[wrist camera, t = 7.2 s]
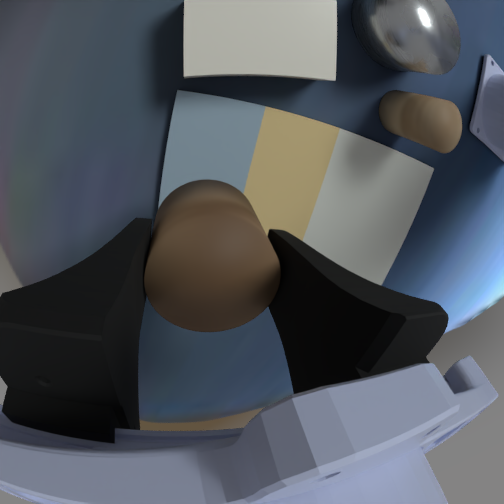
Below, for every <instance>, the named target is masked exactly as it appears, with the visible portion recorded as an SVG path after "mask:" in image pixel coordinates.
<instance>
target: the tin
mask: <svg viewBox="0 0 504 504" xmlns="http://www.w3.org/2000/svg"><path fill="white" fill-rule="evenodd" d="M351 20H352V25H353V29H354V32H355V35H356V37H357V39H358V41H359V43H360V44H361V46H362V48H363V49H364V50H365V51H366V53H367V54H368V55H369V56H370V57H371V58H372V59H373V60H374V61H376V62H377V63H379V64H380V65H382V66H384V67H386V68H388V69H391V70H397V71H409V72H419V73H427V74H435V75H441V74H445V73H447V72H449V71H450V70H451V69H452V68H453V67H454V66H455V64H456V62H457V60H458V57H459V54H460V33H459V29H458V25H457V22H456V19H455V17H454V15H453V13H452V11H451V9H450V7H449V6H448V4H447V3H446V1H445V0H354V2H353V5H352V11H351Z"/></svg>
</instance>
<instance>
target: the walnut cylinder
mask: <svg viewBox="0 0 504 504" xmlns="http://www.w3.org/2000/svg"><path fill="white" fill-rule="evenodd" d="M280 278H281V269H280V263H279V260H278V257H277V255H276V253H275V251H274V249H273V247H272V245H271V243H270V241H269V239H268V237H267V235H266V233H265V231H264V229H263V227H262V225H261V223H260V221H259V219H258V217H257V215H256V213H255V211H254V209H253V207H252V205H251V204H250V202H249V200H248V199H247V198H246V196H245V195H244V194H243V193H242V192H241V191H240V190H238V189H237V188H235V187H234V186H232V185H230V184H228V183H225V182H222V181H218V180H210V179H204V180H196V181H192V182H188V183H186V184H184V185H181V186H180V187H178V188H176V189H175V190H173V191H172V192H171V193H170V194H169V195H168V196H167V197H166V198H165V199H164V201H163V202H162V203H161V205H160V207H159V209H158V211H157V214H156V218H155V223H154V227H153V232H152V237H151V242H150V247H149V252H148V258H147V263H146V269H145V276H144V286H145V291H146V294H147V297H148V299H149V301H150V303H151V305H152V306H153V308H154V309H155V310H156V311H157V312H158V313H159V314H160V315H161V316H162V317H163V318H165V319H166V320H167V321H169V322H171V323H172V324H174V325H177V326H179V327H181V328H185V329H188V330H192V331H199V332H218V331H224V330H229V329H232V328H236V327H238V326H241V325H243V324H245V323H247V322H249V321H251V320H252V319H254V318H255V317H257V316H258V315H259V314H261V313H262V312H263V311H264V310H265V309H266V308H267V307H268V305H269V304H270V303H271V302H272V300H273V298H274V297H275V295H276V293H277V291H278V287H279V284H280Z"/></svg>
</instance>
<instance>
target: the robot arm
mask: <svg viewBox="0 0 504 504" xmlns="http://www.w3.org/2000/svg"><path fill="white" fill-rule="evenodd" d="M470 131H471V133H473V134H474V135H475V136H476V137H477V138H478V139H479V140H481V141H482V142H483V143H484V144H485V145H486V146H487V147H488V148H489V149H491V150H492V151H493V152H494V153H495V154H496V155H497V156H498V157H499V158H500V159H501V160H502V161H503V162H504V72H503V71H502V70H501V68H500V67H499V66H498V65H497V63H496V62H495V61H494V60H493V59H492V57H491V56H490V55H487V54H485V56H484V61H483V67H482V73H481V79H480V84H479V89H478V94H477V98H476V103H475V107H474V111H473V115H472V119H471V122H470ZM151 224H152V219H146V218H135V219H134V220H133V221H132V222H131V223H130V224H128V225H127V226H126V227H125V228H124V229H123V230H122V231H121V232H120V233H119V234H118V235H116V236H115V237H114V238H113V239H112V240H111V241H109V242H108V243H107V244H106V245H104V246H103V247H102V248H101V249H99V250H98V251H97V252H95V253H94V254H92V255H91V256H89V257H88V258H86V259H84V260H83V261H81V262H80V263H78V264H76V265H74V266H72V267H70V268H68V269H66V270H64V271H63V272H61V273H59V274H56V275H54V276H52V277H50V278H47V279H45V280H42V281H40V282H37V283H34V284H32V285H29V286H25V287H22V288H19V289H15V290H12V291H9V292H5V293H2V295H1V297H0V376H1V378H2V379H3V381H4V382H5V383H6V385H7V386H8V388H7V391H6V395H5V399H4V403H3V405H1V404H0V490H2V491H5V492H7V493H9V494H12V495H14V496H17V497H19V498H22V499H25V500H27V501H30V502H33V503H36V504H448V502H447V500H446V497H445V495H444V493H443V491H442V489H441V487H440V485H439V483H438V481H437V479H436V477H435V475H434V473H433V471H432V469H431V467H430V465H429V463H428V461H427V459H426V457H425V455H424V454H425V453H427V452H428V451H430V450H431V449H433V448H435V447H436V446H438V445H439V444H441V443H442V442H444V441H445V440H447V439H448V438H449V437H451V436H452V435H454V434H455V433H457V432H458V431H459V430H461V429H462V428H463V427H464V426H466V425H467V424H468V423H469V422H471V421H472V420H473V419H474V418H475V417H477V415H479V414H480V413H481V412H482V411H483V410H484V409H485V408H487V407H488V406H489V405H490V404H491V403H492V402H493V401H494V400H495V399H496V398H497V397H498V393H497V392H496V390H495V389H494V387H493V386H492V385H491V383H490V382H489V380H488V379H487V377H486V376H485V374H484V373H483V372H482V370H481V369H480V368H479V366H478V365H477V363H475V361H474V359H473V358H472V357H471V356H468V357H465V358H463V359H461V360H459V361H457V362H456V363H455V364H453V365H452V367H450V369H449V370H448V371H447V372H446V373H445V375H444V376H442V375H441V374H440V372H439V371H438V369H437V368H436V366H435V365H434V364H433V363H429V361H428V360H427V358H426V356H427V355H428V353H429V352H430V351H431V350H432V349H433V347H434V346H435V345H436V343H437V342H438V341H439V339H440V338H441V336H442V335H443V333H444V332H445V330H446V327H447V324H448V314H447V313H446V312H445V311H444V309H443V308H442V307H441V306H440V305H439V304H437V303H435V302H432V301H428V300H424V299H420V298H416V297H412V296H409V295H405V294H402V293H399V292H396V291H394V290H391V289H388V288H385V287H383V286H381V285H378V284H376V283H374V282H371V281H369V280H367V279H365V278H363V277H361V276H359V275H357V274H355V273H353V272H351V271H349V270H347V269H345V268H344V267H342V266H340V265H338V264H337V263H335V262H334V261H332V260H330V259H329V258H327V257H326V256H324V255H322V254H321V253H319V252H318V251H316V250H315V249H313V248H312V247H311V246H309V245H308V244H306V243H305V242H303V241H302V240H300V239H299V238H297V237H295V236H294V235H292V234H290V233H289V232H287V231H285V230H278V229H269V232H268V236H267V237H268V239H269V241H270V243H271V245H272V247H273V249H274V251H275V253H276V255H277V257H278V260H279V263H280V269H281V278H280V284H279V287H278V291H277V293H276V295H275V297H274V298H273V300H272V302H271V303H270V304H269V305H268V307H269V309H270V312H271V314H272V317H273V319H274V322H275V324H276V327H277V329H278V332H279V335H280V338H281V341H282V344H283V348H284V351H285V355H286V359H287V363H288V367H289V372H290V376H291V381H292V386H293V391H294V394H293V395H290V396H288V397H286V398H284V399H282V400H280V401H278V402H276V403H274V404H272V405H270V406H268V407H265V408H264V409H262V410H261V411H260V412H259V413H258V414H257V415H256V416H255V417H254V418H253V419H252V420H250V421H249V423H248V424H247V425H246V426H245V428H236V429H224V430H206V431H148V430H140V422H139V402H138V350H139V336H140V329H141V323H142V317H143V311H144V306H145V301H146V295H147V294H146V291H145V286H144V276H145V269H146V263H147V258H148V252H149V247H150V242H151Z"/></svg>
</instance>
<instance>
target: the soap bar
mask: <svg viewBox="0 0 504 504" xmlns="http://www.w3.org/2000/svg"><path fill="white" fill-rule="evenodd" d="M336 57H337V1H335V0H184V78H196V77H215V76H268V77H287V78H300V79H310V80H327V81H336Z"/></svg>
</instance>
